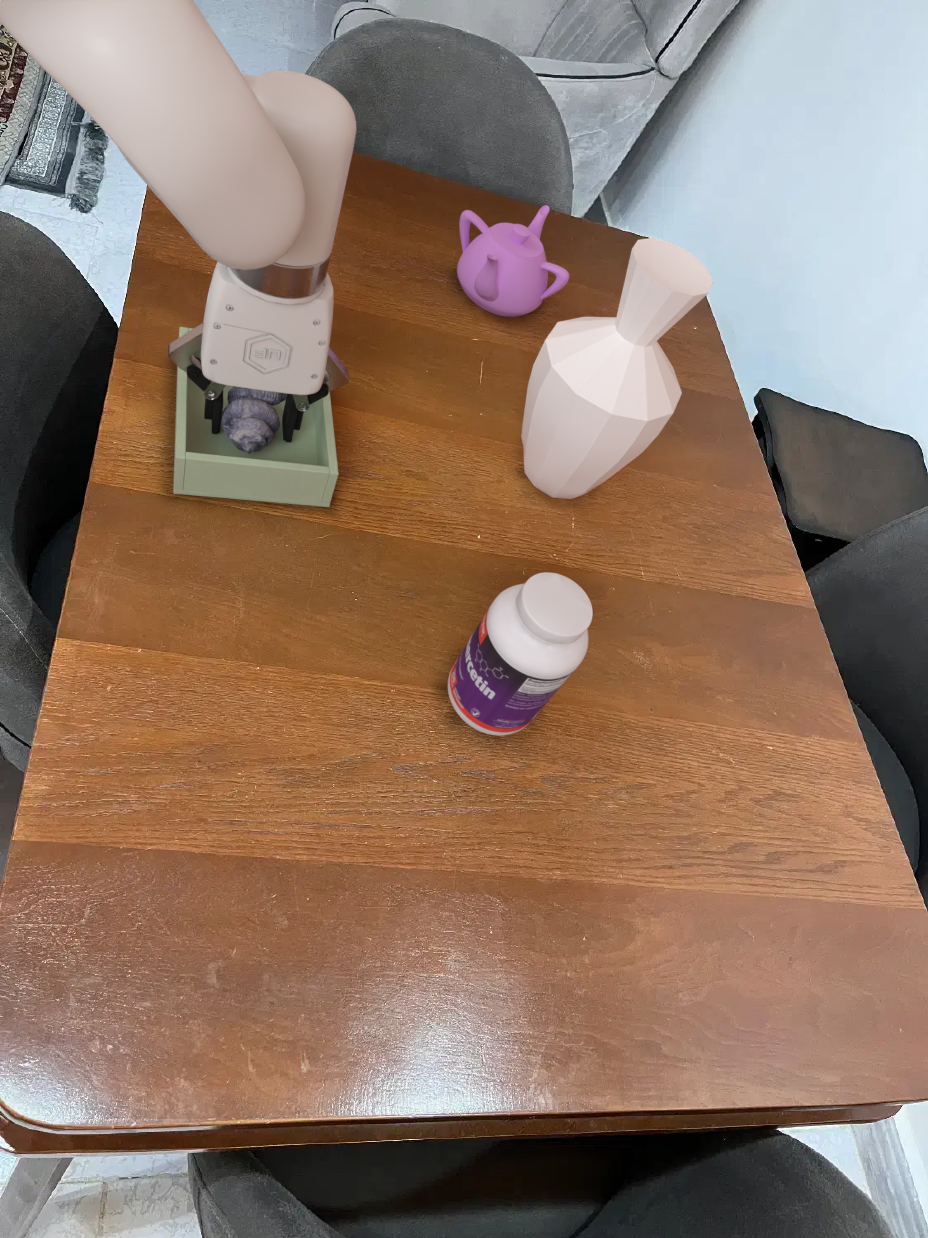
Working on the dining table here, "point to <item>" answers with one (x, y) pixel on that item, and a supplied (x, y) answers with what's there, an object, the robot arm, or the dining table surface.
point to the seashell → (251, 417)
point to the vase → (609, 376)
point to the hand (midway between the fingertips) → (251, 426)
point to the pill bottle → (521, 653)
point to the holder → (253, 454)
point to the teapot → (506, 266)
